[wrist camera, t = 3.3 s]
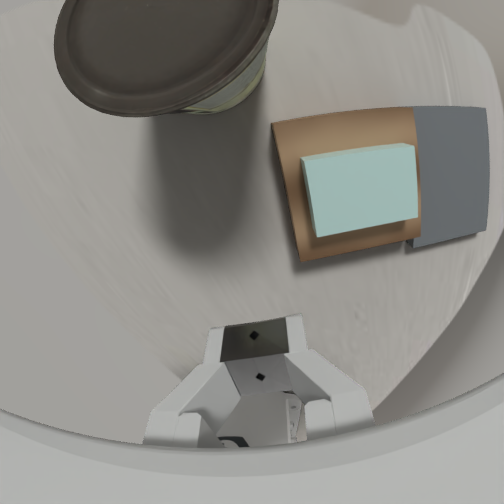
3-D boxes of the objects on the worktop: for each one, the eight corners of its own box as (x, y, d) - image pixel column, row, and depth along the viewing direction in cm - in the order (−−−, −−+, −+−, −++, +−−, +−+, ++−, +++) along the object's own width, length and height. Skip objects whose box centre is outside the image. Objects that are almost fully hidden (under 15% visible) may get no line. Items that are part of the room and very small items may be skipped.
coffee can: (160, 128, 23) (67, 148, 10) (142, 29, 18) (52, -22, 6) (276, 104, 22) (301, 87, 9) (255, 1, 17) (254, -92, 5)
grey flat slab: (478, 225, 26) (486, 230, 25) (407, 242, 27) (413, 248, 26) (477, 107, 20) (485, 108, 19) (397, 107, 21) (404, 107, 20)
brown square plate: (407, 224, 27) (420, 236, 24) (296, 247, 28) (300, 262, 25) (397, 107, 21) (412, 107, 19) (270, 123, 23) (272, 123, 20)
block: (407, 209, 23) (417, 217, 21) (312, 227, 24) (317, 237, 22) (402, 142, 20) (414, 146, 18) (300, 157, 21) (304, 161, 19)
